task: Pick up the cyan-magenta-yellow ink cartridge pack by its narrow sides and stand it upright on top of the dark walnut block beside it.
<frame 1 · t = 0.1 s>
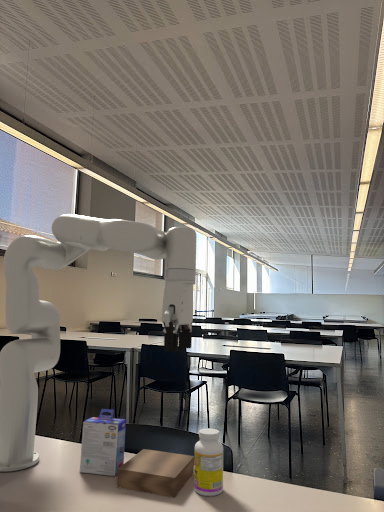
hand: (178, 349, 92), 31 cm above the table, tool pointing down, fingers open, 9 cm apart
walnut block: (157, 479, 93), on the table
supplement bottle: (208, 491, 88), on the table
ink cartridge box: (102, 471, 97), on the table
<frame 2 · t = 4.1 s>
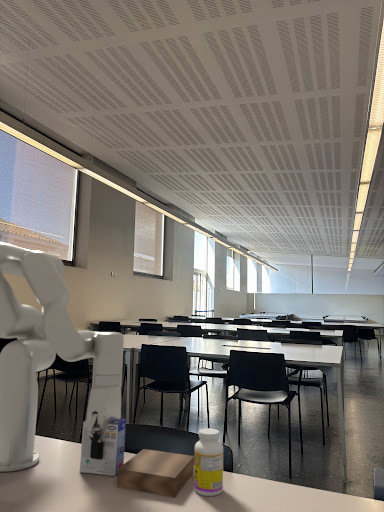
hand: (103, 453, 98), 4 cm above the table, tool pointing down, fingers closed on ink cartridge box, 5 cm apart
ink cartridge box: (102, 471, 97), on the table, touching gripper
everything else where it was.
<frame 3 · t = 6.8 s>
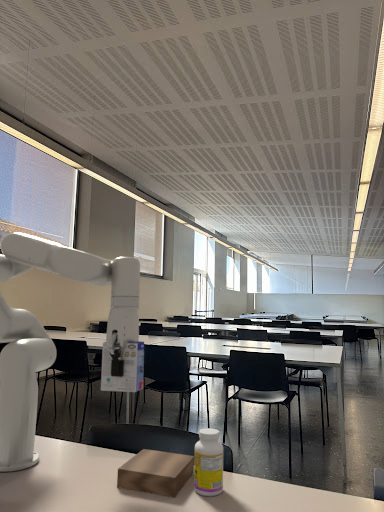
hand: (123, 373, 99), 24 cm above the table, tool pointing down, fingers closed on ink cartridge box, 5 cm apart
ink cartridge box: (122, 391, 99), point 20 cm above the table, touching gripper
everything else where it was.
when the fingers open (10 cm above the table, at t = 9.6 s): ink cartridge box drops 2 cm, resting on walnut block.
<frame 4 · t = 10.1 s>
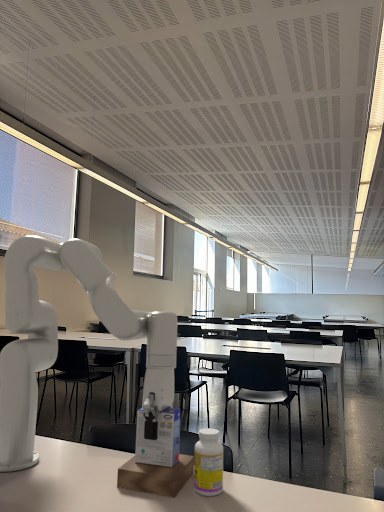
hand: (158, 433, 94), 11 cm above the table, tool pointing down, fingers open, 9 cm apart
ink cartridge box: (157, 462, 94), point 4 cm above the table, touching walnut block
everything else where it was.
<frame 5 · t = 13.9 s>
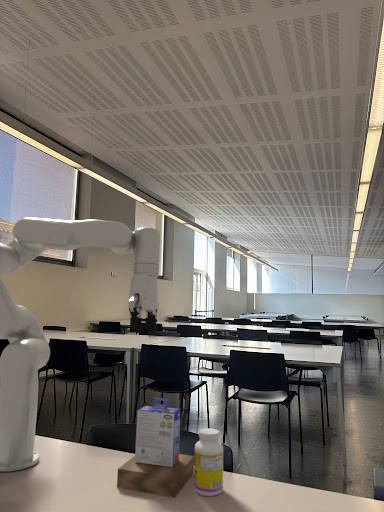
hand: (143, 331, 108), 34 cm above the table, tool pointing down, fingers open, 9 cm apart
nothing on the table moved.
at the end: ink cartridge box inside the target area on the walnut block (0.4 cm from its centre), point 3.8 cm above the walnut block's base; ink cartridge box tilted 0°; the gripper is holding nothing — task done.
